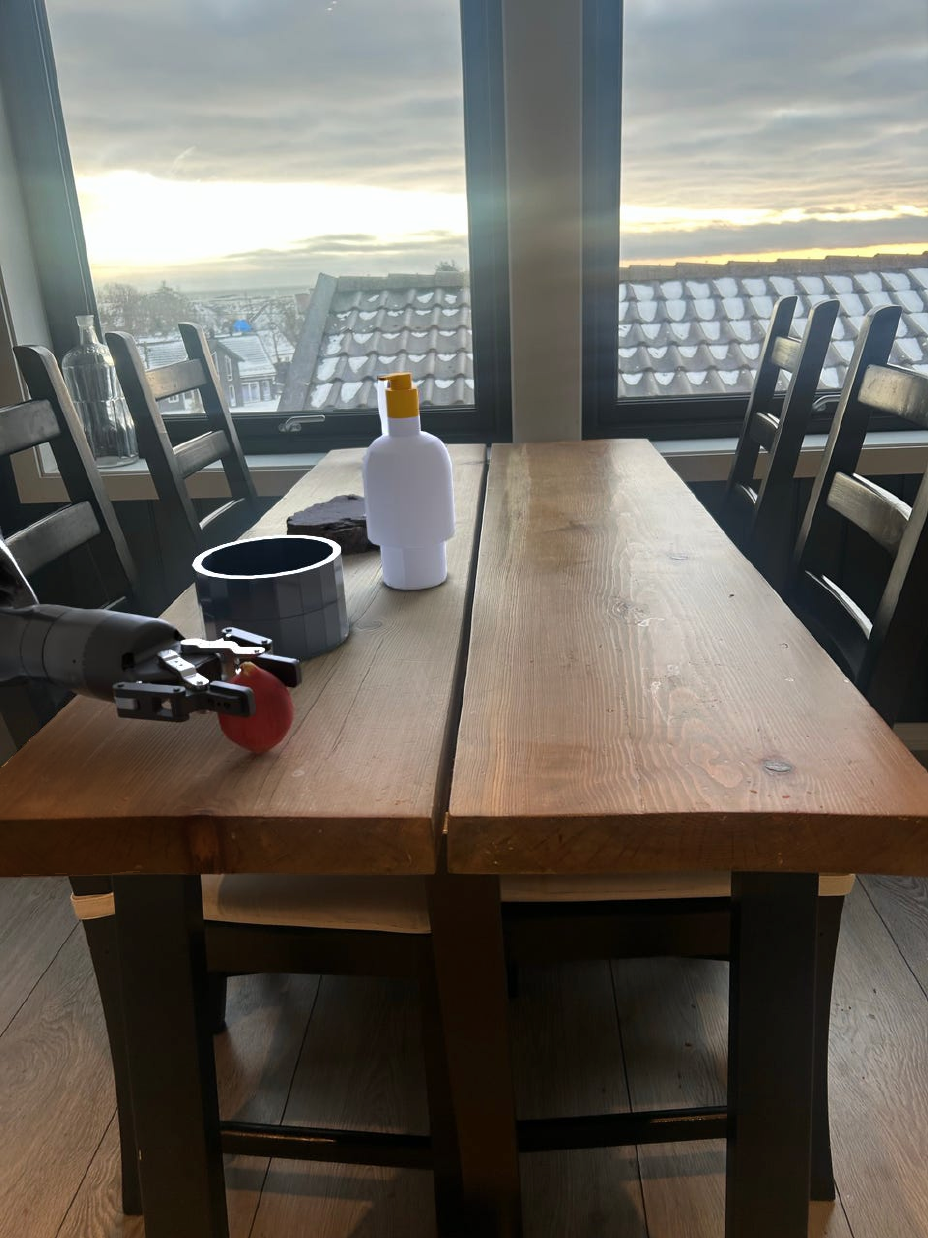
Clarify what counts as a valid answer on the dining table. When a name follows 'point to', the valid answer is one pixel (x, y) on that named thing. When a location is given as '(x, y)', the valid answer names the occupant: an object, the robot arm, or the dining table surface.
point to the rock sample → (335, 523)
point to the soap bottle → (408, 493)
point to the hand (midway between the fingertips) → (275, 688)
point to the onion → (260, 711)
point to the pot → (275, 593)
